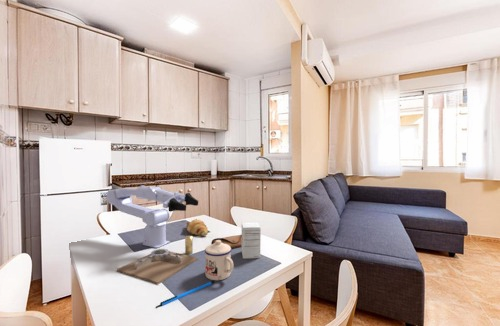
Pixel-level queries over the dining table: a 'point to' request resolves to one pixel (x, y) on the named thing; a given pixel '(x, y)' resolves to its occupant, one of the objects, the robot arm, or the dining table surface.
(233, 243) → the sunglasses case
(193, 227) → the croissant
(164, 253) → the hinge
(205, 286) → the pen
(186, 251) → the brass pin
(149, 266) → the board
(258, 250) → the supplement box
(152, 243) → the robot arm
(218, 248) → the teacup with lid
